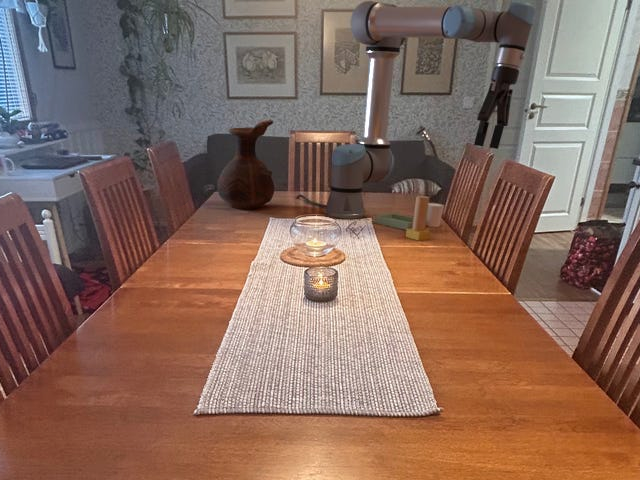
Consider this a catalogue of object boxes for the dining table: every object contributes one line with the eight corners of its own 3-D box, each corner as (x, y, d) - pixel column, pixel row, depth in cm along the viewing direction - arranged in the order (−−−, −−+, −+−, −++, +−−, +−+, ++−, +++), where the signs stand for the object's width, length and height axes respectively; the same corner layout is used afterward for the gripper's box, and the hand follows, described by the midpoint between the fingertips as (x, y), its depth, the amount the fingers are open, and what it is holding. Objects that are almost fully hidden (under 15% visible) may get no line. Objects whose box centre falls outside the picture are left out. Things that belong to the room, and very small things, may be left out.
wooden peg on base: (405, 236, 194) (410, 195, 188) (416, 235, 197) (422, 194, 190) (418, 240, 190) (423, 198, 183) (429, 239, 192) (435, 197, 186)
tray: (373, 222, 212) (374, 216, 211) (391, 219, 218) (392, 213, 217) (407, 230, 203) (408, 223, 202) (425, 227, 209) (426, 220, 208)
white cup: (442, 227, 209) (446, 206, 206) (423, 226, 209) (426, 205, 205) (439, 223, 215) (442, 203, 211) (420, 223, 215) (423, 202, 211)
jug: (220, 211, 219) (217, 118, 203) (216, 201, 237) (212, 115, 221) (278, 211, 223) (279, 120, 207) (269, 201, 241) (270, 117, 225)
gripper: (505, 61, 165) (483, 146, 175) (531, 74, 183) (510, 151, 194) (480, 59, 168) (460, 142, 179) (508, 72, 187) (488, 147, 197)
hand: (486, 147), depth 186 cm, fingers open, 13 cm apart
